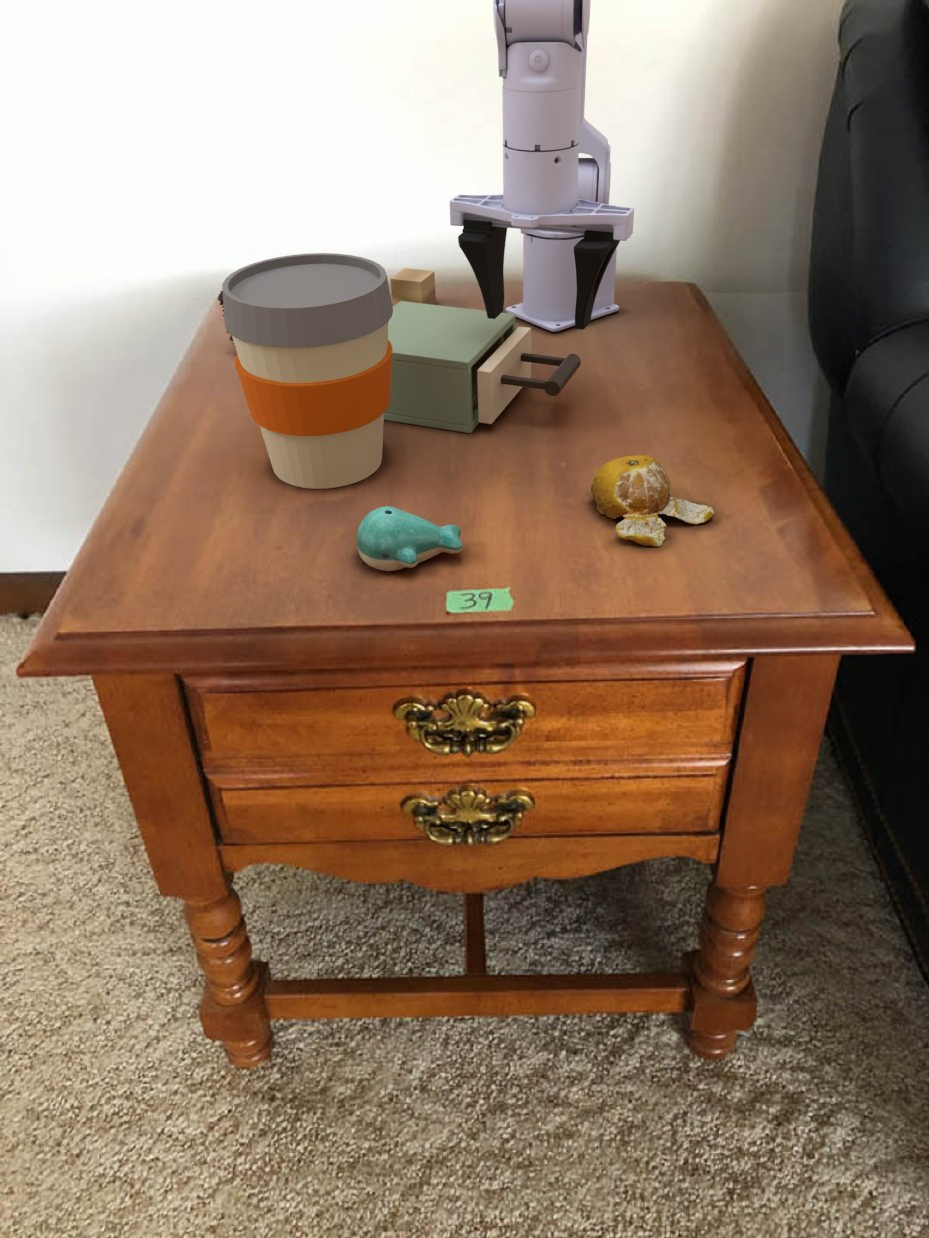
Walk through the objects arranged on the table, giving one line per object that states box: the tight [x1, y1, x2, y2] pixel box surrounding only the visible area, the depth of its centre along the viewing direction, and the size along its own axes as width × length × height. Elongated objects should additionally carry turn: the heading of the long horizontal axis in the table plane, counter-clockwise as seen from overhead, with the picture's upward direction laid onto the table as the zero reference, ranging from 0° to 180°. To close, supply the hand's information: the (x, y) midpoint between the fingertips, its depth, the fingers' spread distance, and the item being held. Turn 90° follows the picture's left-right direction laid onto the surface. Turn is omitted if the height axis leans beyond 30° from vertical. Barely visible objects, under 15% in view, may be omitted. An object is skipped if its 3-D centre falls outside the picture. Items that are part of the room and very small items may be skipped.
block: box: [390, 267, 437, 307], centre depth 111 cm, size 4×4×4 cm
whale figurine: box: [356, 505, 464, 572], centre depth 71 cm, size 6×7×4 cm
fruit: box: [590, 454, 715, 547], centre depth 75 cm, size 8×8×4 cm
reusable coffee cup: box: [221, 252, 393, 490], centre depth 80 cm, size 13×13×15 cm
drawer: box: [471, 326, 582, 425], centre depth 90 cm, size 16×10×5 cm, turn 68°
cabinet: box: [384, 301, 517, 434], centre depth 92 cm, size 11×11×6 cm
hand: (538, 319), depth 85 cm, fingers open, 7 cm apart
